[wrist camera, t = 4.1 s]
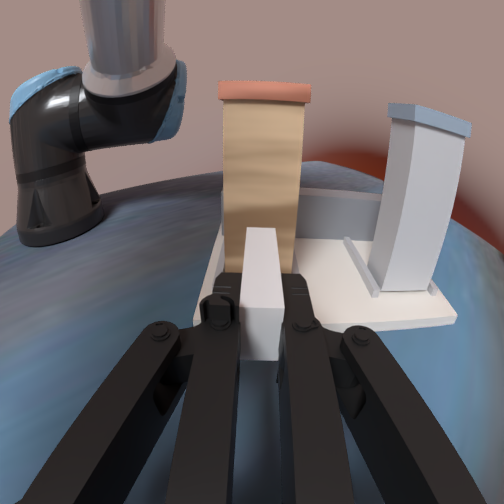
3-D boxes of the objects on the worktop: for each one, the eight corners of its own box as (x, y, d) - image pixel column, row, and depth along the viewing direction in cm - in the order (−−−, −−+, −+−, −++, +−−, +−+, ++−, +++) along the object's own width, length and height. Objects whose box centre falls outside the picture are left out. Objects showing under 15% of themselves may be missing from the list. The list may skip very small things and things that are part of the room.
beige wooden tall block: (293, 293, 22) (311, 84, 15) (221, 291, 22) (218, 81, 15) (288, 263, 26) (300, 89, 19) (227, 261, 26) (226, 86, 19)
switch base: (453, 324, 20) (479, 265, 17) (194, 329, 20) (185, 258, 17) (386, 235, 35) (395, 193, 33) (221, 228, 36) (221, 182, 33)
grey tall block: (430, 291, 22) (471, 123, 15) (379, 293, 22) (415, 104, 15) (410, 266, 26) (440, 117, 19) (363, 265, 26) (388, 103, 19)
